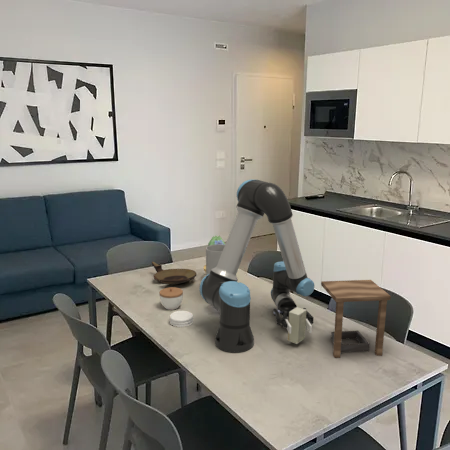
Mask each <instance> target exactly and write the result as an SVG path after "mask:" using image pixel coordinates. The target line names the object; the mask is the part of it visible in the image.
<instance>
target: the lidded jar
mask: <svg viewBox="0 0 450 450" xmlns="http://www.w3.org/2000/svg"><path fill="white" fill-rule="evenodd" d="M183 295H184V290H183V289H182V288H179V287H175V286H174V287H172V286H171V287H164V288H162V289H161V290H160V291H159V300H160V303H161V305H162V307H164V308H165V310H168V311H169V310H171V311H172V310H173V311H174V310H176V309H178V308H179V306H181V304H182V302H183Z"/></svg>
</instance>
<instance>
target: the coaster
mask: <svg viewBox="0 0 450 450" xmlns="http://www.w3.org/2000/svg"><path fill="white" fill-rule="evenodd" d="M193 323H194V314H193V313H192V312H191V311H187V310H176V311H173V312H171V313H170V315H169V324H170V325H171V326H172V325H173V326H172V327H175V326H177V327H176V328H185V327H184V326H186V327H189V326H191V325H192V324H193ZM188 325H189V326H188Z"/></svg>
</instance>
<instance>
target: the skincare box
mask: <svg viewBox="0 0 450 450" xmlns="http://www.w3.org/2000/svg"><path fill="white" fill-rule="evenodd" d="M306 311H308V310H307V309H306V310H305V309H303V308H302V307H298V306H297V307H296V308H294V309H293V310H291V311H290V312H289V317H288V321H289V323H290V325H291V333H289V332H288V331H287V341H288V342H290V343H293V344H296V345H298V344H299V343H301V342H302V341H303V340H305V339H306V338H305V337H306Z"/></svg>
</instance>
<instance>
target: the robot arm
mask: <svg viewBox="0 0 450 450" xmlns="http://www.w3.org/2000/svg"><path fill="white" fill-rule="evenodd" d="M236 199H237V204H236V210H237V215H236V217H235V219H234V222H233V224H232V227H231V228H230V232H229V234H228V236H227V239H226V242H225V246H224V249H223V251H222V254H221V256H220V259H219V261H218V264H217V266H216V267H215V268H213V269H211V271H210V274H208V275H207V276H206V275H205V276H204V277H203V278H201V281H200V283H199V293H200V296H201V298H202V299H203V301H205V302H206V303H207V304H208V305H210V306H212V307H213V308H214V309H215V310H217V311H218V312H219V326H218V327H217V331H216V334H215V336H214V344H216V345H215V346H216V347H217V348H218V349H220V350H221V351H223V352H226V351H227V353H243V352H247V351H250V349H252V348H253V347H254V346H255V336H254V333H253V331H252V330H253V329H252V327H251V324H250V323H251V300H252V297H251V290H250V288H249V286H247V284H245V283H243V282H240V281H239V282H238V279H239V278H238V277H237V273H238V271H239V268H240V265H241V263H242V261H243V258H244V255H245V253H246V250H247V248H248V246H249V243H250V240H251V237H252V235H253V233H254V231H255V228H256V225H257V223H258V221H259V220H260V219H263V217H264V215H266V217H267V220H268V223H269V224H271V225H272V228H273V231H274V235H275V237H276V241H277V245H278V247H279V248H278V249H279V251H280V253H281V257H282V261H277V262H275V263H274V264H273V270H272V273H273V274H272V275H273V276H272V288H271V290H270V297H271V300H272V301H273V303H274V305H275V307H276V308H273V315H272V316H274V317H275V323H276V325H281V328H285V329H286V330H287V333H288V332H289V333H291V325H290V323H289V319H288V318H289V312H290V311H291V310H293V309H294V308H296V307H298V306H297V304H296V302H295V300H294V299H293V298H292V296H291V295H290V293H291V292H290V291H292V292H294V293H296V294H297V295H300V296H303V297H308V296H311V294H312V293H313V292H314V290H315V282H314V281H313V279H311V278H310V277H308V275H307V271H306V268H305V264H304V260H303V256H302V253H301V250H300V246H299V243H298V239H297V235H296V232H295V228H294V225H293V222H292V218H293V216H294V215H293V210H292V208H291V204H290V202H289V200H288V198H287V195H286V194H285V192H284V191H283V189H282V187H280V186H279V185H277V184H276V183H272V182H268V181H264V180H261V179H260V180H259V179H247V180H245V181H243V182H242V183H240V185H239V187H238V188H237V190H236ZM302 309H305V310H307V308H305V307H303V308H302ZM280 316H282V317H280ZM313 324H314V316H313V315H312V314H311V313H310V312H309V311H308V310H307V311H306V327H305V329H307V331H308V333H309V334H310V333H311V334H312V333H313V332H312V331H313Z"/></svg>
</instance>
